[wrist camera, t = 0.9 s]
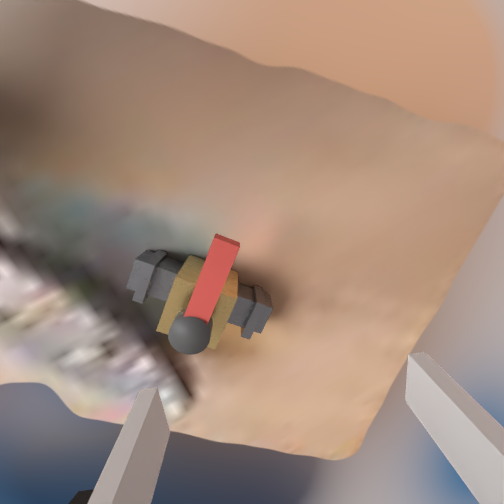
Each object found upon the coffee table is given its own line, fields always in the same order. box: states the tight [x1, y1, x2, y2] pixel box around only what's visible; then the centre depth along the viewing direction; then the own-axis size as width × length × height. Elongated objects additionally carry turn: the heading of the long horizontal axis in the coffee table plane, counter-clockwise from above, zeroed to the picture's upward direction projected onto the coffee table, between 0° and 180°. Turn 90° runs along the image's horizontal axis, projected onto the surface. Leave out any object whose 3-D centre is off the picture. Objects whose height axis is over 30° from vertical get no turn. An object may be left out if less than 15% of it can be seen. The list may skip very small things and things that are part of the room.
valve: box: [126, 250, 273, 350], centre depth 32 cm, size 18×7×10 cm, turn 67°
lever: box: [168, 234, 240, 354], centre depth 25 cm, size 12×4×2 cm, turn 158°
